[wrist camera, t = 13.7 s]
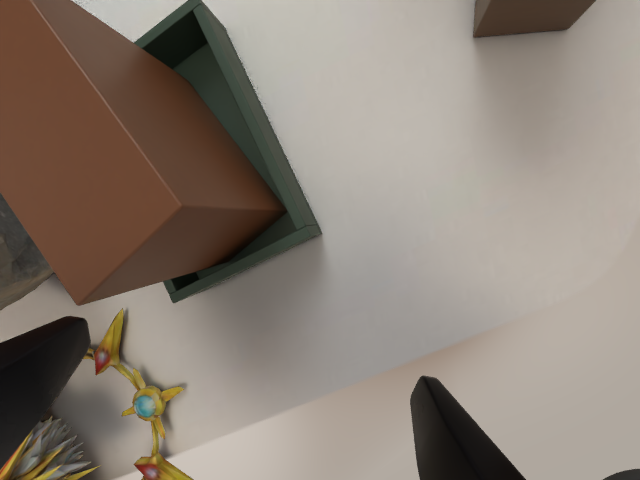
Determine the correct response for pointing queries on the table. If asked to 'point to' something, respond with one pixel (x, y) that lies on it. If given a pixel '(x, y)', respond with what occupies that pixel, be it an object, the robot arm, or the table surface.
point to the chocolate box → (116, 157)
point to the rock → (18, 259)
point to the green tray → (230, 133)
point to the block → (526, 15)
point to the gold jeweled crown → (56, 460)
